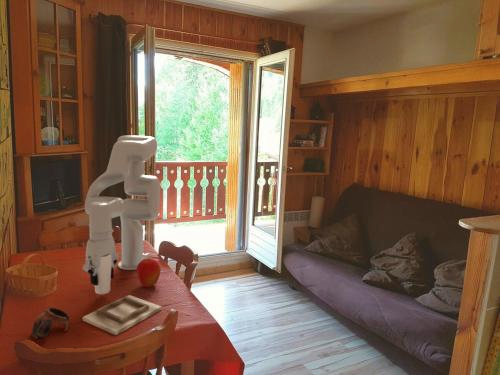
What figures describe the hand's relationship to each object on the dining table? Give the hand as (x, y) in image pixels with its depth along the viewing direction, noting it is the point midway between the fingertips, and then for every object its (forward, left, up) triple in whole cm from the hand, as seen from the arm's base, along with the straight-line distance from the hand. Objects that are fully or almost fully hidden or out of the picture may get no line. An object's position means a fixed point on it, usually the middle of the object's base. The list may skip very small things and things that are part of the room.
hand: (102, 280), depth 137 cm
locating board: (+5, +16, -7) cm, 18 cm away
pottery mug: (+25, +7, -7) cm, 27 cm away
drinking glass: (0, 0, -5) cm, 5 cm away
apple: (-17, +6, -7) cm, 20 cm away
